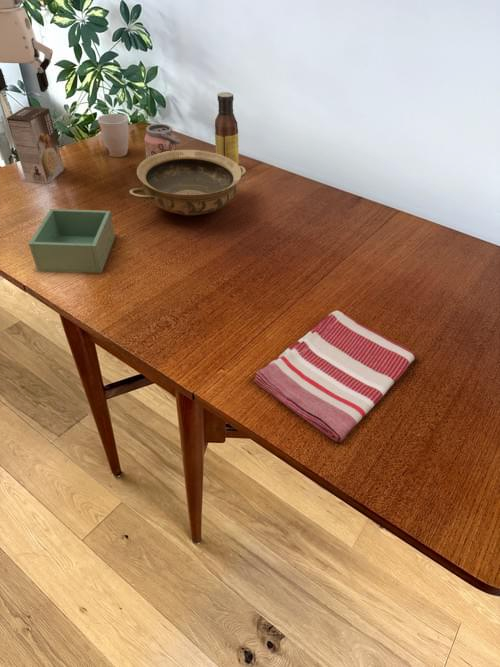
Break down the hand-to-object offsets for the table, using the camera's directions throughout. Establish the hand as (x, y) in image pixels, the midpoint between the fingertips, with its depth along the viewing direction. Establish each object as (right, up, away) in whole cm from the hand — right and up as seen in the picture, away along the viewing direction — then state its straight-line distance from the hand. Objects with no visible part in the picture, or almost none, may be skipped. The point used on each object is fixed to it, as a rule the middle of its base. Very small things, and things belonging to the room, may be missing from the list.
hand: (23, 89), depth 109 cm
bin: (+17, -41, -11) cm, 45 cm away
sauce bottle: (+47, -11, +22) cm, 53 cm away
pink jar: (+30, -13, +19) cm, 38 cm away
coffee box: (-1, -16, +14) cm, 21 cm away
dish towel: (+67, -64, -33) cm, 98 cm away
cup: (+15, -5, +27) cm, 31 cm away
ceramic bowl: (+39, -27, +5) cm, 48 cm away
